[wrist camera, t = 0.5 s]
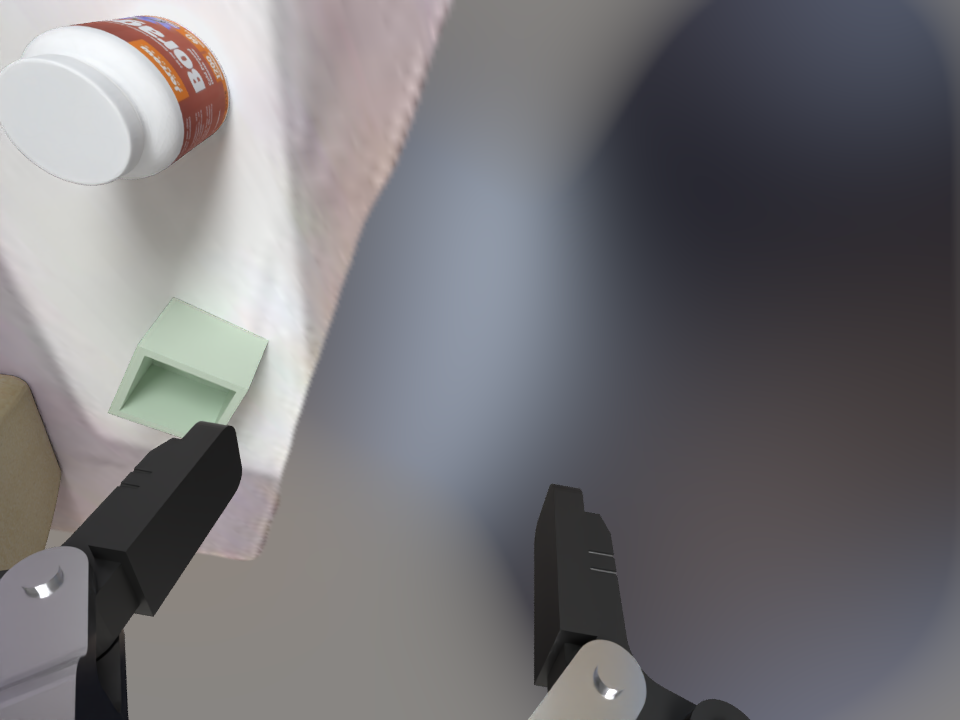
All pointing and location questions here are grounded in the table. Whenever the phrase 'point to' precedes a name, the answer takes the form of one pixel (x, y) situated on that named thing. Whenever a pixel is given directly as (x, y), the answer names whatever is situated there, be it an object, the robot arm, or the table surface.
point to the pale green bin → (188, 371)
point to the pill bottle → (112, 98)
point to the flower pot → (24, 475)
